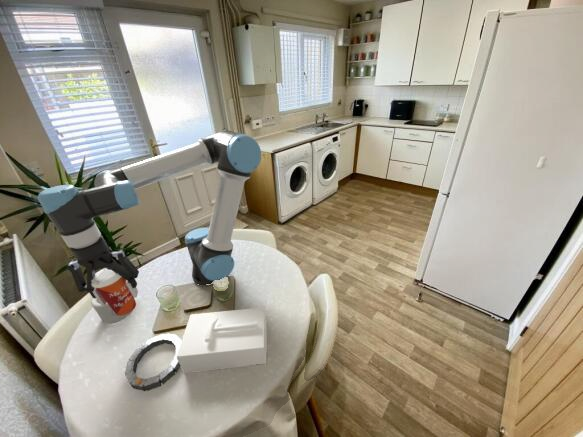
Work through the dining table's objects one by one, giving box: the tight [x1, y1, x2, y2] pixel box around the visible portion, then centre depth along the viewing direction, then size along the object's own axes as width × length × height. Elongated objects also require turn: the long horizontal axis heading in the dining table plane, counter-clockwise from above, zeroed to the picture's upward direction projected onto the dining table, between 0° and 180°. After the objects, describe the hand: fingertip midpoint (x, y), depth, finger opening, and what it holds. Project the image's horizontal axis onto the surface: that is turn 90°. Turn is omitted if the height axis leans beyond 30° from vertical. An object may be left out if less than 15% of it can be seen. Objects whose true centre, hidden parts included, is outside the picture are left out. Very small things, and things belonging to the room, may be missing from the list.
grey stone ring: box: [124, 333, 182, 392], centre depth 75 cm, size 16×16×3 cm
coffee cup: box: [91, 268, 137, 316], centre depth 75 cm, size 8×8×15 cm
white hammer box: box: [175, 306, 268, 374], centre depth 77 cm, size 14×25×11 cm, turn 95°
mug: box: [90, 297, 134, 325], centre depth 92 cm, size 14×11×10 cm
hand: (120, 298), depth 77 cm, fingers closed on coffee cup, 8 cm apart
